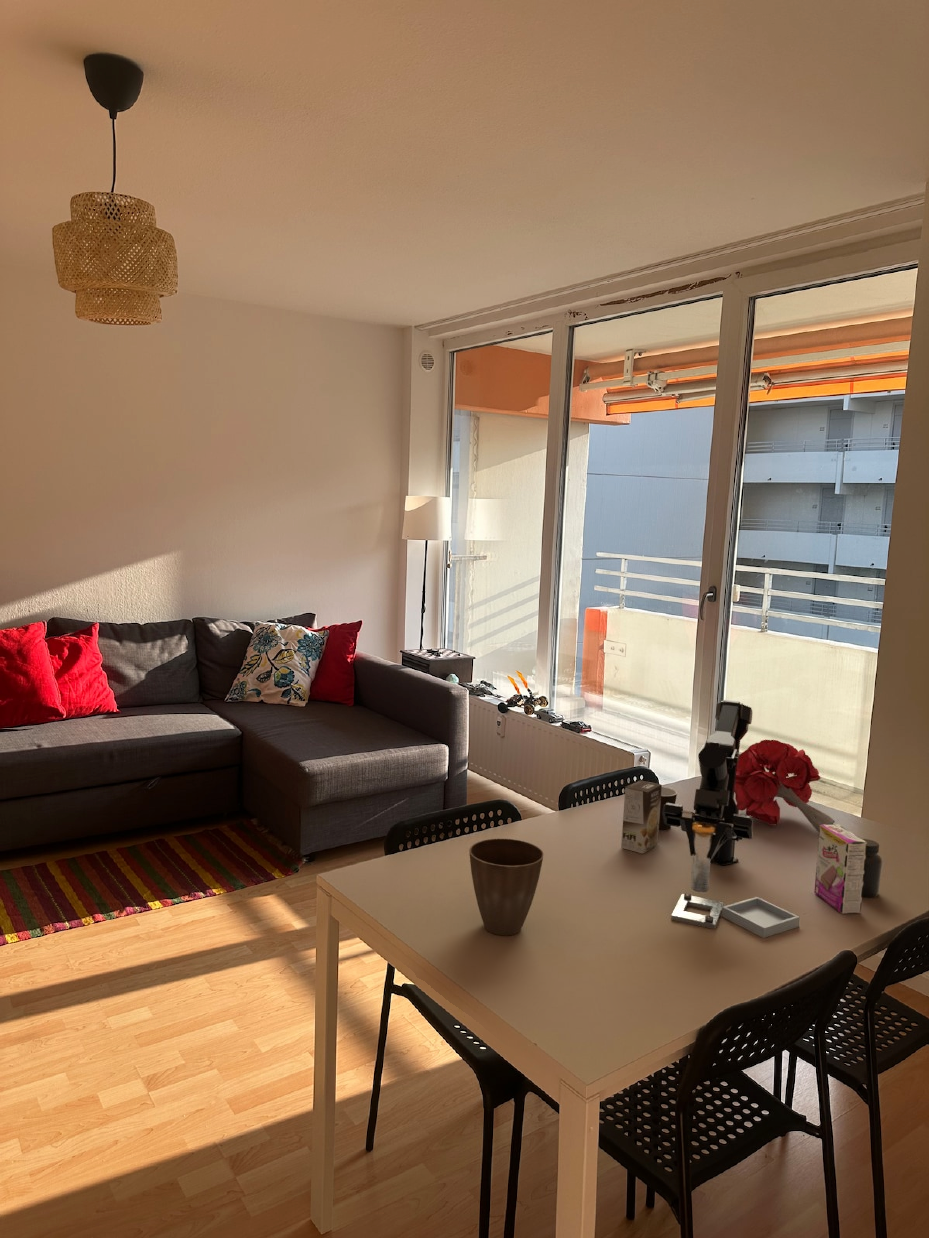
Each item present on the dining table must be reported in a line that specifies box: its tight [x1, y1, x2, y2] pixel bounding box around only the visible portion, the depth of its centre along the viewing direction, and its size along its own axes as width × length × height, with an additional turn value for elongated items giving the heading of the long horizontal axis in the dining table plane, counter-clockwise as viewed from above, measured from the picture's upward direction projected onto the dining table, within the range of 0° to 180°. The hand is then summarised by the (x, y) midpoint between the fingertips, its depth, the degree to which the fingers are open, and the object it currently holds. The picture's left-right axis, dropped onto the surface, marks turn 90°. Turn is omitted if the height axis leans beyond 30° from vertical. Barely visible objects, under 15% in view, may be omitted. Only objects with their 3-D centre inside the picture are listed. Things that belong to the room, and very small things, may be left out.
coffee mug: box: [659, 786, 678, 832], centre depth 244 cm, size 12×9×10 cm
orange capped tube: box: [690, 822, 716, 893], centre depth 189 cm, size 5×5×14 cm
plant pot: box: [468, 838, 545, 936], centre depth 179 cm, size 15×15×16 cm
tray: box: [721, 896, 801, 939], centre depth 187 cm, size 11×11×2 cm
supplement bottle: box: [861, 838, 883, 899], centre depth 204 cm, size 7×7×12 cm
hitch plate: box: [670, 893, 725, 930], centre depth 190 cm, size 12×9×2 cm
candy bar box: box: [813, 823, 867, 915], centre depth 197 cm, size 11×5×16 cm, turn 9°
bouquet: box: [734, 739, 836, 833], centre depth 249 cm, size 22×24×30 cm
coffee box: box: [620, 779, 663, 854], centre depth 227 cm, size 9×6×16 cm
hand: (700, 856), depth 187 cm, fingers closed on orange capped tube, 4 cm apart
